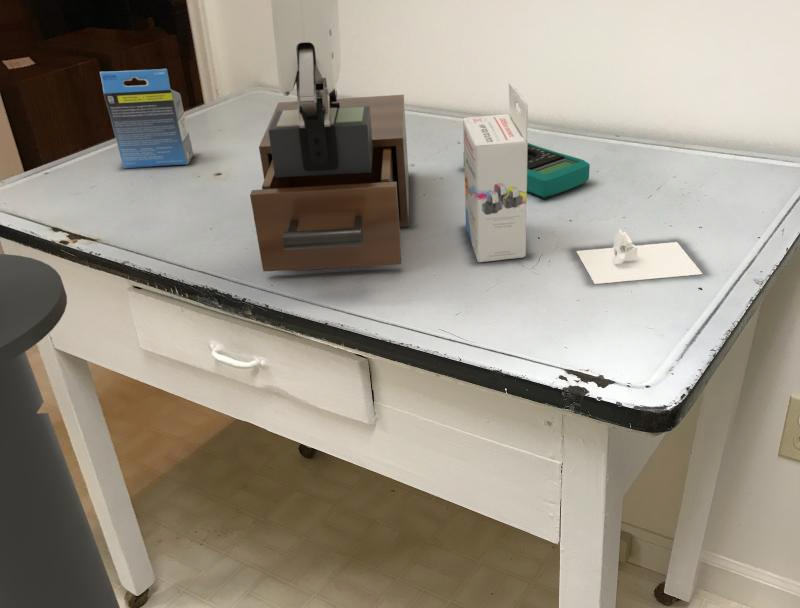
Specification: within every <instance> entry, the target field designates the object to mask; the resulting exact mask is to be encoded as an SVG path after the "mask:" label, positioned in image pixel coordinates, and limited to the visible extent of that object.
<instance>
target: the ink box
mask: <svg viewBox="0 0 800 608" xmlns="http://www.w3.org/2000/svg"><path fill="white" fill-rule="evenodd" d="M508 101H509V102H508V103H509V108H508V109H509V113H505V114H493V115H483V116H468V117H463V118H462V132H463V134H462V135H463V167H464V205H465V207H464V209H465V212H464V213H465V229H466V231H467V234H468V238H469V241H470V243H471V246H472V249H473V252H474V255H475V258H476V261H477V263H485V262H494V261H495V262H496V261H503V260H504V261H505V260H513V259H521V258H525V257H526V255H527V198H528V197H527V196H528V194H527V193H528V192H527V146H528V143H529V142H528V126H529V125H528V119H529V107H528V103H527V102H526V101H525V99H524V97H523V96H522V94H521V93H520V92H519V90H518V89H517V88H516V87H515V86H514V84H513V83H512V82H511V81H509V82H508ZM517 106H518V108H519V109H520V111H519V110H518V109H517Z"/></svg>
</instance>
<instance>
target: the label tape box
mask: <svg viewBox="0 0 800 608" xmlns="http://www.w3.org/2000/svg"><path fill="white" fill-rule="evenodd" d="M99 76H100V80H101V85H102V91H103V97H104V101H105V103H106V107H107V111H108V114H109V118H110V121H111V126H112V130H113V134H114V137H115V141H116V145H117V149H118V152H119V156H120V159H121V164H122V167H123V168H124V169H136V168H150V167H161V166H163V167H165V166H181V165H189V163H190V161H191V160H192V158H193V157H194V151H193V146H192V140H191V136H190V131H189V128H188V123H187V118H186V114H185V110H184V106H183V100H182V96H181V93H180V92H178V91H176V90H174V89H172V88H171V85H170V77H169V72H168V69H167V68H159V69H139V70H138V69H136V70H119V71H118V70H117V71H112V70H111V71H99ZM133 79H136V80H137V81H145V83H146V84H139V85H125V82H131V81H132V80H133Z"/></svg>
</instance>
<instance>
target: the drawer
mask: <svg viewBox="0 0 800 608" xmlns="http://www.w3.org/2000/svg"><path fill="white" fill-rule="evenodd" d="M261 188H262V189H251V191H250V194H249V197H250V203H251V208H252V215H253V220H254V227H255V232H256V238H257V244H258V249H259V256H260V262H261V267H262V272H264V273H266V272H282V271H283V272H285V271H286V272H287V271H300V270H302V271H303V270H321V269H338V268H340V269H341V268H355V267H359V268H360V267H374V266H392V265H402V264H403V261H402V260H403V254H402V242H401V227H400V225H399V210H398V196H397V182H395V181H394V166H393V152H392V146H387V147H373V157H372V167H371V173H357V174H338V175H319V176H299V177H280V178H275V173H274V166H273V159H272V162H271V164H270V167H269V169H268V172H267V175H266V177H265V180H264V179H263V183H262V185H261Z"/></svg>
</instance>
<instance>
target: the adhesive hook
mask: <svg viewBox="0 0 800 608" xmlns="http://www.w3.org/2000/svg"><path fill="white" fill-rule="evenodd" d="M637 246H638V245H635V244H634V243H633V240H632V239H631V237H630V235H628V233H627V231H625V230H624V231H622V228H619V229H618V231H617V233H616V234H615V236H614V240H613V246H612V247H611V248H612V249H613V255H614V256H613V264H614V265H622V264H623V262H634V261H637V260H638V247H637Z"/></svg>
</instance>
